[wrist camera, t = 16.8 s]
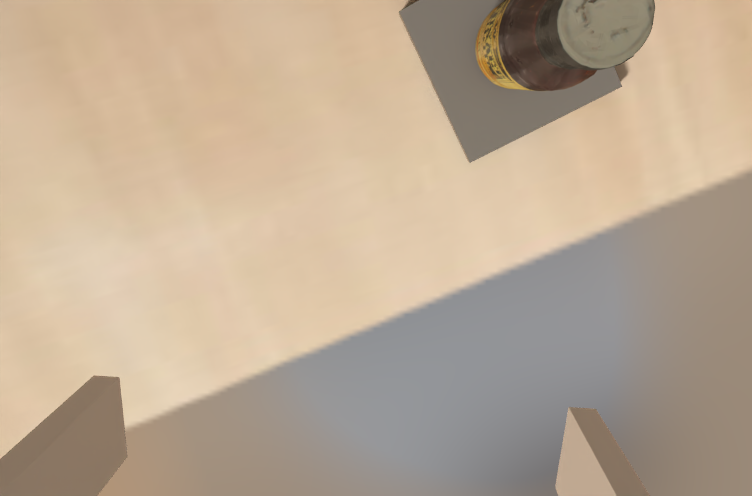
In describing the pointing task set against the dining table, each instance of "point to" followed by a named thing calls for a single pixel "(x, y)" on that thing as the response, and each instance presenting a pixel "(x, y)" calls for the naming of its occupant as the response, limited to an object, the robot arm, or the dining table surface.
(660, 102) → the dining table surface
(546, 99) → the slate tile
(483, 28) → the sauce bottle
